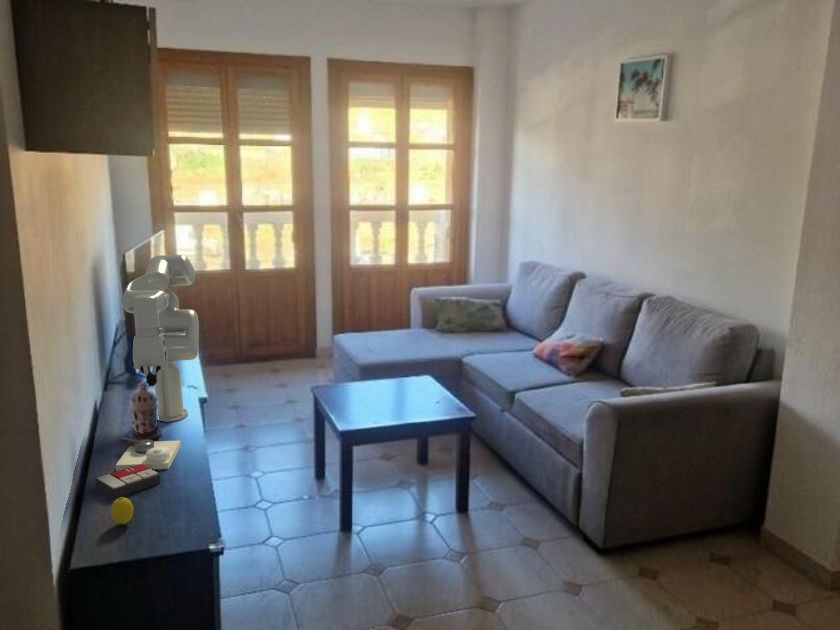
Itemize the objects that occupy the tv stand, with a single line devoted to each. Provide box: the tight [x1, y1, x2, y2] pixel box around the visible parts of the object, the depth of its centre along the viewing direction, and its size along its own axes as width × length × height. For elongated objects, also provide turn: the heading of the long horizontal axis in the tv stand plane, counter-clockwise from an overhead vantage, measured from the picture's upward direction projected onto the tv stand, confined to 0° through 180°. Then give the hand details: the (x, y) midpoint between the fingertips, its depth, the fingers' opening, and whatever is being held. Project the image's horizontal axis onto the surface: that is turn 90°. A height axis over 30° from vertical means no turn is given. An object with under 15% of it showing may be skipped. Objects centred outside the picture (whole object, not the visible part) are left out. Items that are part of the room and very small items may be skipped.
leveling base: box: [115, 440, 182, 471], centre depth 228 cm, size 18×16×5 cm
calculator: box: [94, 464, 161, 501], centre depth 209 cm, size 11×4×15 cm
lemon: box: [110, 497, 134, 526], centre depth 186 cm, size 6×6×8 cm
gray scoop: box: [119, 436, 155, 454], centre depth 231 cm, size 13×6×2 cm, turn 66°
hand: (152, 385), depth 232 cm, fingers closed
